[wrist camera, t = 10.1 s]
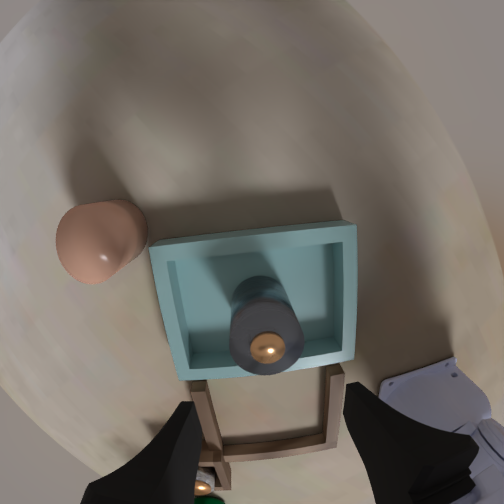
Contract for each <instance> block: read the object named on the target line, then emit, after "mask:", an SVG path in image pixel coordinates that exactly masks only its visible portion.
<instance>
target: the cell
mask: <svg viewBox="0 0 504 504" xmlns="http://www.w3.org/2000/svg"><path fill="white" fill-rule="evenodd" d="M304 343H305V340H304V334H303V331H302V329H301V326H300V324H299V322H298V319H297V317H296V314H295V312H294V310H293V307H292V305H291V303H290V300H289V298H288V296H287V293H286V291H285V289H284V287H283V286H282V285H281V284H280V283H279V282H278V281H277V280H275V279H273V278H271V277H268V276H262V275H260V276H253V277H250V278H247V279H245V280H244V281H242V282H241V283H240V284H239V285H238V286H237V287H236V289H235V291H234V293H233V295H232V303H231V320H230V338H229V350H230V354H231V356H232V358H233V360H234V361H235V363H236V364H237V365H238V366H239V367H241V368H242V369H243V370H245V371H247V372H250V373H252V374H257V375H273V374H277V373H280V372H283V371H285V370H287V369H288V368H290V367H291V366H292V365H294V364H295V363H296V362H297V360H298V359H299V358H300V356H301V354H302V352H303V349H304Z"/></svg>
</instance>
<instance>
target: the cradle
mask: <svg viewBox="0 0 504 504" xmlns="http://www.w3.org/2000/svg"><path fill="white" fill-rule="evenodd" d="M344 377H345V373H344V371H343V369H342V367H341V365H340V364H334V365H329V366H326V380H325V402H324V419H323V433H320V434H315V435H310V436H304V437H298V438H292V439H285V440H278V441H270V442H261V443H251V444H238V445H224V453H223V456H224V460H225V462H241V461H253V460H264V459H273V458H281V457H288V456H294V455H300V454H306V453H312V452H317V451H322V450H327V449H331V448H336V447H337V441H338V433H339V426H340V418H341V409H342V399H343V389H344ZM191 396H192V399H193V401H194V403H195V407H196V410H197V414H198V417H199V420H200V424H201V427H202V431H203V434H204V437H205V440H206V443H207V446H208V449H209V451H218V450H222V437H221V434H220V430H219V427H218V423H217V419H216V416H215V412H214V408H213V404H212V400H211V396H210V392H209V388H208V384H207V380H206V381H193V382H192V387H191Z"/></svg>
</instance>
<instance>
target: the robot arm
mask: <svg viewBox="0 0 504 504" xmlns="http://www.w3.org/2000/svg"><path fill="white" fill-rule="evenodd" d="M456 362H457V358H456V357H451V358H449V359H446V360H443V361H441V362H438V363H435V364H433V365H430V366H427V367H424V368H421V369H418V370H415V371H412V372H409V373H406V374H402V375H399V376H396V377H392V378H389V379H386V380H384V381H382V383H381V386H380V391H379V397H377V396H376V395H374V394H373V393H372V392H371V391H369V390H368V389H367V388H366V387H365V386H363V385H362V384H361V383H359V382H354V383H349V384H346V393H345V401H344V409H343V415H344V418H345V422H346V425H347V428H348V431H349V433H350V435H351V437H352V439H353V442H354V444H355V446H356V448H357V450H358V452H359V454H360V456H361V458H362V461H363V463H364V465H365V468H366V471H367V474H368V477H369V480H370V483H371V487H372V491H373V494H374V498H375V502H376V504H504V427H503V426H502V425H501V424H499V423H498V422H497V421H495V420H494V419H492V418H491V407H490V403H489V400H488V398H487V396H486V395H485V393H484V392H483V391H482V390H481V389H480V388H479V387H478V386H477V385H476V384H475V383H474V382H473V381H471V380H470V379H469V378H468V377H467V376H466V375H465V374H464V373H463V372H462V371H461V370H460V369H459V368H458V367H457V366H456ZM390 382H391V383H390ZM389 383H390V384H389ZM201 447H202V427H201V424H200V420H199V417H198V414H197V410H196V407H195V403H194V401H182V402H181V403H180V404H179V405H178V407H177V408H176V410H175V411H174V413H173V414H172V416H171V417H170V418H169V420H168V421H167V423H166V424H165V425H164V426H163V428H162V429H161V430H160V432H159V433H158V434H157V435H156V436H155V437H154V439H153V440H152V441H151V442H150V443H149V444H148V445H147V446H146V447H145V448H144V449H143V450H142V451H141V452H140V453H139V454H138V455H136V456H135V457H134V458H133V459H131V460H130V461H129V462H127V463H126V464H125V465H123V466H122V467H120V468H119V469H117V470H115V471H114V472H112V473H110V474H108V475H106V476H104V477H102V478H100V479H98V480H96V481H94V482H91V483H89V485H88V486H87V488H86V490H85V493H84V495H83V498H82V501H81V503H80V504H194V492H195V482H196V476H197V470H198V465H199V459H200V453H201Z"/></svg>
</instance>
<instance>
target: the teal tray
mask: <svg viewBox="0 0 504 504" xmlns="http://www.w3.org/2000/svg"><path fill="white" fill-rule="evenodd" d="M149 253H150V258H151V264H152V269H153V275H154V280H155V285H156V290H157V294H158V299H159V304H160V308H161V313H162V317H163V321H164V325H165V330H166V334H167V338H168V342H169V346H170V349H171V353H172V357H173V361H174V364H175V368H176V371H177V375H178V378H179V381H181V380H204V379H220V378H233V377H244V376H253V375H257V374H252V373H250V372H247V371H245V370H243V369H242V368H241V367H239V366H238V365H237V364H236V363H235V361H234V360H233V358H232V356H231V354H230V350H229V338H230V320H231V303H232V295H233V293H234V291H235V289H236V287H237V286H238V285H239V284H240V283H241V282H242V281H244V280H245V279H247V278H250V277H253V276H260V275H262V276H268V277H271V278H273V279H275V280H277V281H278V282H279V283H280V284H281V285H282V286H283V287H284V289H285V291H286V293H287V296H288V298H289V300H290V303H291V305H292V307H293V310H294V312H295V314H296V317H297V319H298V322H299V324H300V326H301V329H302V331H303V334H304V340H305V343H304V349H303V352H302V354H301V356H300V358H299V359H298V360H297V362H296V363H295V364H294V365H292V366H291V367H290V368H288V369H287V370H285V371H283V372H286V371H293V370H299V369H306V368H312V367H317V366H323V365H328V364H334V363H339V362H344V361H349V360H353V359H354V353H355V338H356V319H357V278H358V265H357V225H356V224H353V223H350V222H347V221H345V220H338V221H327V222H316V223H306V224H296V225H286V226H276V227H267V228H257V229H248V230H239V231H230V232H221V233H213V234H204V235H196V236H187V237H179V238H171V239H163V240H158V241H157V242H155V243H154V244H153V245H151V246H150V247H149Z"/></svg>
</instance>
